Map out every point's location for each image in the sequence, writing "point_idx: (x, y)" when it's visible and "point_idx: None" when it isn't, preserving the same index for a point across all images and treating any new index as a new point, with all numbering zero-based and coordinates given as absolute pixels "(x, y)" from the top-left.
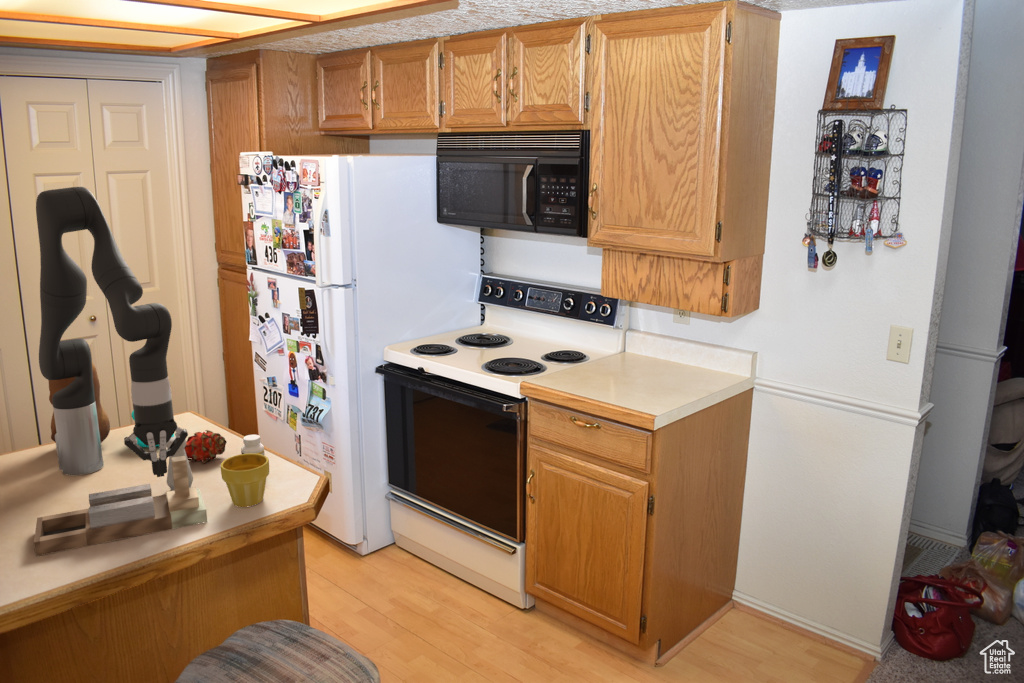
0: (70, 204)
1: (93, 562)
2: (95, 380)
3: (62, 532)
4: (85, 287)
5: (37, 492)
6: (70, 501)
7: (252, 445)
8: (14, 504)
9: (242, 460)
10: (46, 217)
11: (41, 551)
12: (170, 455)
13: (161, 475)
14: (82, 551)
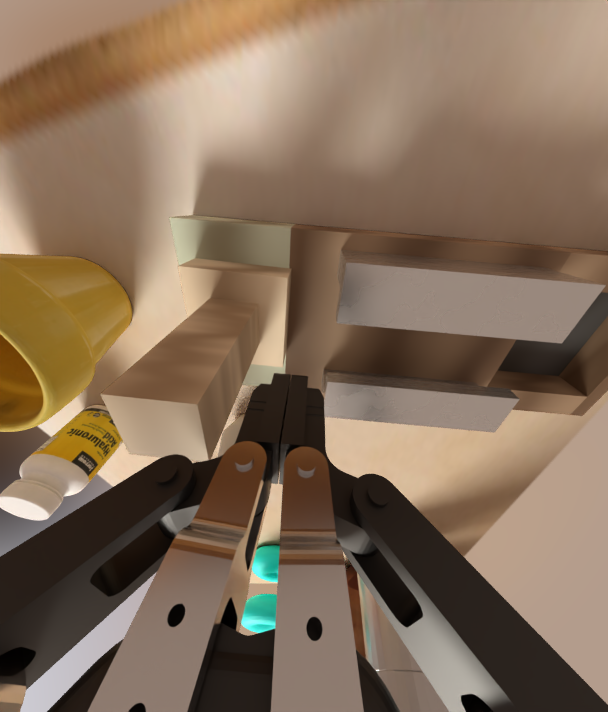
0: None
1: (602, 71)
2: None
3: (531, 356)
4: None
5: (464, 508)
6: (440, 467)
7: (32, 480)
8: (512, 493)
9: (13, 408)
10: None
11: None
12: (187, 462)
13: (286, 375)
14: (563, 211)
